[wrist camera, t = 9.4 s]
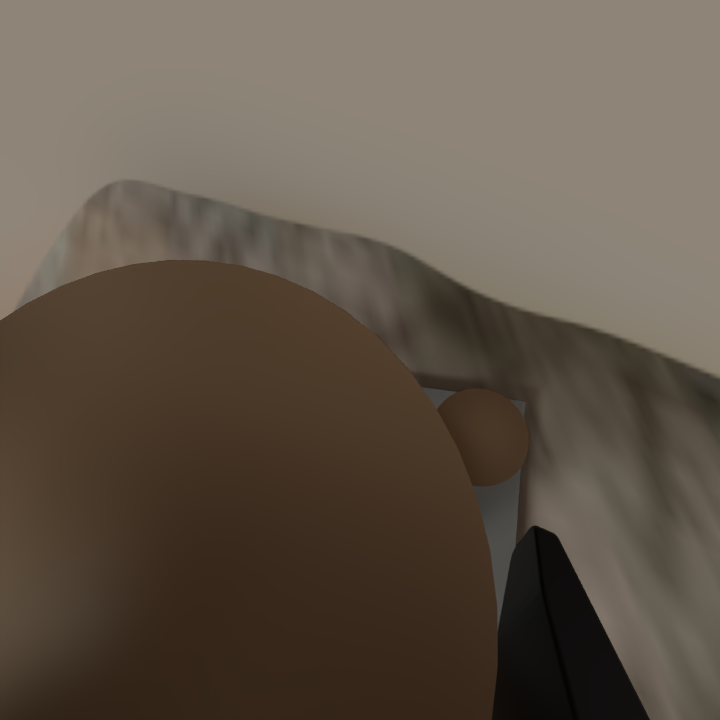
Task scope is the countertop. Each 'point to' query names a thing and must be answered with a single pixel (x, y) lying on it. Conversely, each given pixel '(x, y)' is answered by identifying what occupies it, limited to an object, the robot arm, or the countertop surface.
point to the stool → (237, 509)
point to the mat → (495, 512)
